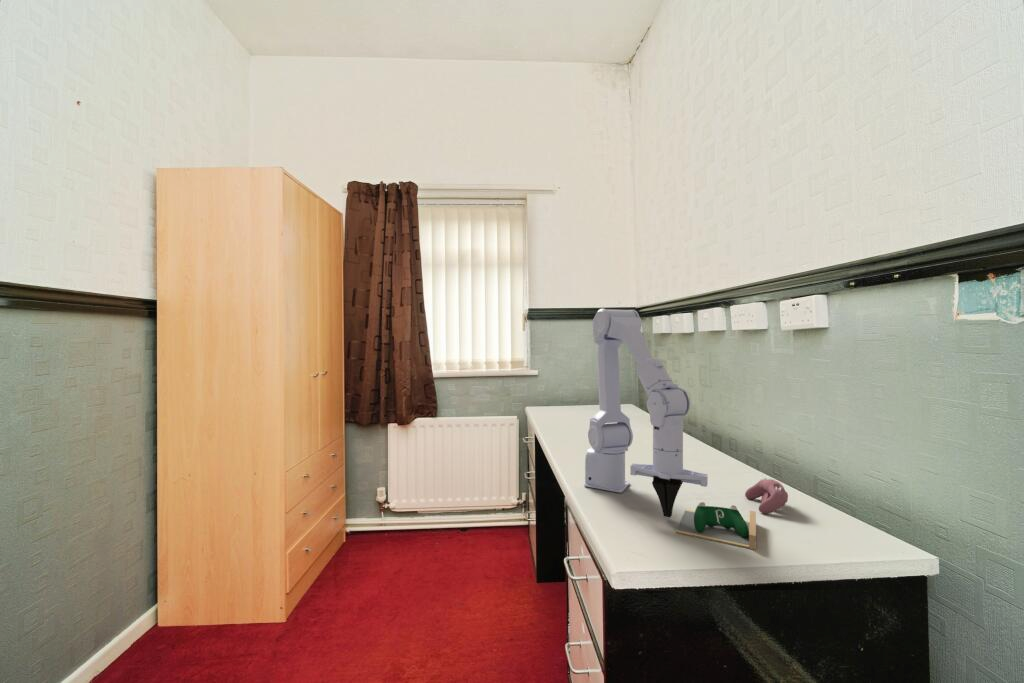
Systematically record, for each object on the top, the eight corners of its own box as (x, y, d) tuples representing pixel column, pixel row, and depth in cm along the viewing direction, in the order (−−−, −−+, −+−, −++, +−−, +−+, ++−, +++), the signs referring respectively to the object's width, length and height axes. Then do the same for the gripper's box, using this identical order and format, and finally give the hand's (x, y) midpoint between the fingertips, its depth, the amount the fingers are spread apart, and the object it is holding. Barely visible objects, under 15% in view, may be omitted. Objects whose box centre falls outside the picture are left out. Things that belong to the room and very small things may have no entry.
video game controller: (779, 523, 87) (796, 494, 87) (758, 512, 88) (774, 483, 87) (761, 505, 97) (776, 479, 96) (742, 495, 98) (756, 469, 97)
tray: (676, 532, 79) (676, 519, 79) (685, 510, 90) (685, 499, 90) (755, 549, 73) (755, 536, 73) (755, 523, 83) (755, 511, 83)
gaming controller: (747, 543, 78) (741, 512, 82) (750, 535, 76) (745, 503, 80) (693, 537, 81) (690, 507, 85) (695, 529, 78) (692, 498, 83)
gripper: (626, 447, 85) (626, 514, 85) (705, 457, 78) (704, 531, 78) (635, 440, 91) (635, 503, 91) (708, 449, 84) (708, 517, 84)
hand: (667, 515), depth 85 cm, fingers closed
